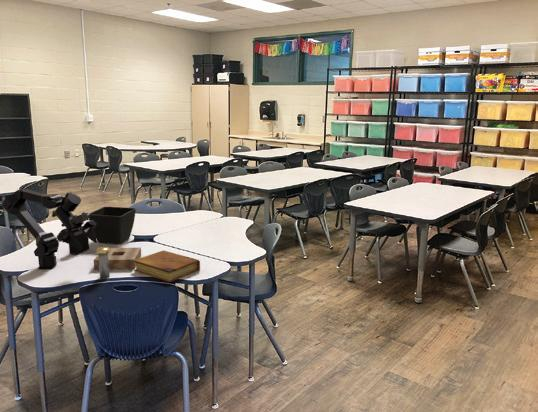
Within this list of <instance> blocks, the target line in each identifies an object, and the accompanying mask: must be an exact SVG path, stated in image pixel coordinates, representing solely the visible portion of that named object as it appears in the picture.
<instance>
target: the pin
mask: <svg viewBox="0 0 538 412" xmlns="http://www.w3.org/2000/svg"><path fill="white" fill-rule="evenodd" d="M109 248H110V247H108V246H102V247H97V248H96V254H97V255H98V256H99V279H101V280H107V279H110V275H111V274H110V269H109V257H108V253H109V252H110V250H109Z"/></svg>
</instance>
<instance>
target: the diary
mask: <svg viewBox="0 0 538 412" xmlns="http://www.w3.org/2000/svg"><path fill="white" fill-rule="evenodd" d="M134 262H135V263H136V267H135V269H133V271H134V272H136V273H138V274H139V273H140V274H142V275H147V276H149V277H152V278H155V279H159V280H161V281H165V282H168V283H172V282H174V281H176V280H179V279H181V278H184V277H187V276H189V275H192V274H195V273H197V272H199V271H200V270H201V261H200V260H199V259H196V258H194V257H189V256H186V255H182V254H179V253H174V252H171V251H167V250H160V251H157V252H155V253H151V254H148V255H145V256H143V257H142V256H141V258H139V259H136V260H134Z"/></svg>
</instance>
